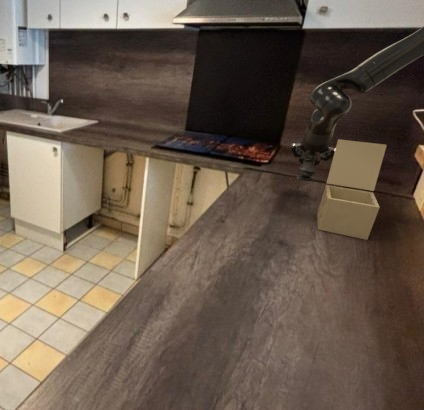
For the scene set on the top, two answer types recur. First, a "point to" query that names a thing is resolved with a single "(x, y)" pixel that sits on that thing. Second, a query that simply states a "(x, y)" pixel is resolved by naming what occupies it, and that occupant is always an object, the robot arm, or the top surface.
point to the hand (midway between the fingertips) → (308, 162)
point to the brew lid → (356, 164)
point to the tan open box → (347, 211)
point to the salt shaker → (307, 168)
